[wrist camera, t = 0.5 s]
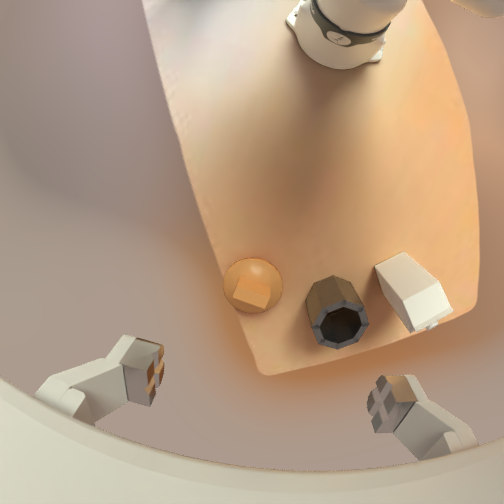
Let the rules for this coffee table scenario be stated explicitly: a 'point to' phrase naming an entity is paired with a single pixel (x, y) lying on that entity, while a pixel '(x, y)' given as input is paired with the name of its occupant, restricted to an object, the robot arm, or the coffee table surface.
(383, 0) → the robot arm
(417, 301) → the milk carton
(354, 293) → the graphite tube
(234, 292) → the orange cap
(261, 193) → the coffee table surface
